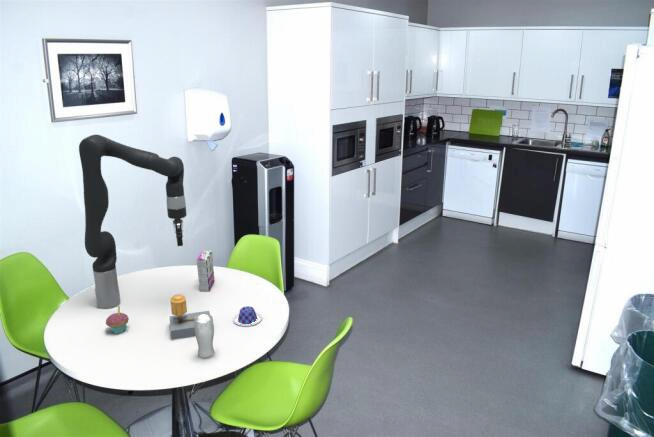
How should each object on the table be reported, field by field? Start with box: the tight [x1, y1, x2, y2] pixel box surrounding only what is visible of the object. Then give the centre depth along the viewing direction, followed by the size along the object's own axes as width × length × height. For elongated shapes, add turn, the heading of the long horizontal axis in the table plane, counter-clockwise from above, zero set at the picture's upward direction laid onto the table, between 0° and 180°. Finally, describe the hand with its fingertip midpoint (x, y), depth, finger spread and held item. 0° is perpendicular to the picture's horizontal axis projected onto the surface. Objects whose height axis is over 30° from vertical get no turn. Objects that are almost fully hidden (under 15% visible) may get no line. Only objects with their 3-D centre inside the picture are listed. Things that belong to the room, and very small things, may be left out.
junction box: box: [169, 310, 211, 341], centre depth 211 cm, size 16×12×5 cm
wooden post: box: [177, 315, 183, 323], centre depth 208 cm, size 2×2×9 cm
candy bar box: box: [196, 250, 215, 292], centre depth 246 cm, size 11×5×16 cm, turn 179°
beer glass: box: [194, 314, 215, 359], centre depth 192 cm, size 7×7×15 cm
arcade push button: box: [169, 293, 188, 316], centre depth 207 cm, size 6×6×7 cm
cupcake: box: [105, 305, 130, 334], centre depth 209 cm, size 9×8×12 cm
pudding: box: [232, 305, 263, 327], centre depth 218 cm, size 12×12×5 cm
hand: (179, 242), depth 221 cm, fingers open, 8 cm apart
